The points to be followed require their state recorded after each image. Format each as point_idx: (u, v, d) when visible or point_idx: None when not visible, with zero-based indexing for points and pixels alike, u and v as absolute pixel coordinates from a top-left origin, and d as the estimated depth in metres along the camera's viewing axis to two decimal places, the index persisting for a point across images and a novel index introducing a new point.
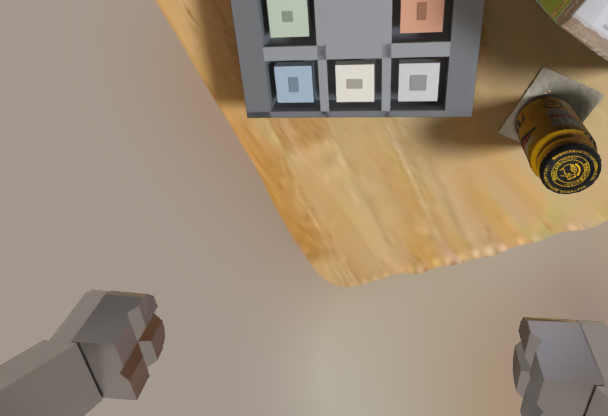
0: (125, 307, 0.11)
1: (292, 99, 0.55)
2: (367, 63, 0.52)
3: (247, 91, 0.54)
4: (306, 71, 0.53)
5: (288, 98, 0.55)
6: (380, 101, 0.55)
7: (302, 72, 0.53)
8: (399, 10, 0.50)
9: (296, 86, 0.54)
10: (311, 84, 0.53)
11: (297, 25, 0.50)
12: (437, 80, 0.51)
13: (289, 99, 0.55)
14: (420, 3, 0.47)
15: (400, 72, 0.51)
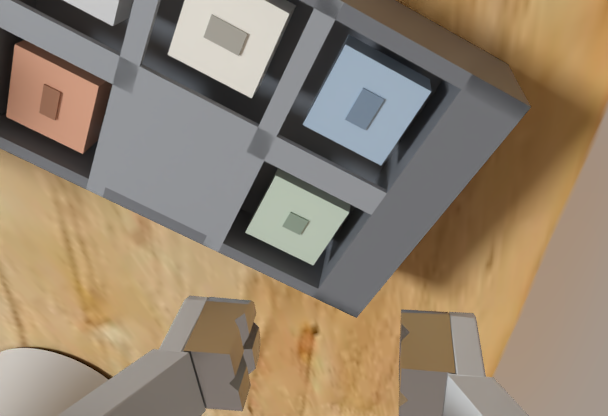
0: (231, 313, 0.10)
1: (390, 80, 0.21)
2: None
3: (473, 161, 0.21)
4: (319, 119, 0.22)
5: (398, 86, 0.21)
6: None
7: (329, 122, 0.22)
8: None
9: (360, 103, 0.21)
10: (325, 87, 0.21)
11: (287, 203, 0.25)
12: None
13: (399, 84, 0.21)
14: (52, 115, 0.24)
15: (114, 4, 0.21)
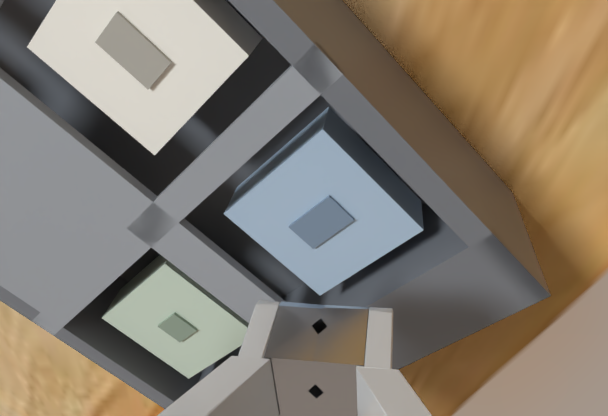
0: (307, 319, 0.10)
1: (372, 198, 0.13)
2: None
3: (447, 333, 0.15)
4: (250, 215, 0.14)
5: (380, 209, 0.14)
6: None
7: (263, 223, 0.14)
8: None
9: (318, 214, 0.14)
10: (272, 177, 0.14)
11: (172, 300, 0.17)
12: None
13: (382, 206, 0.14)
14: None
15: None
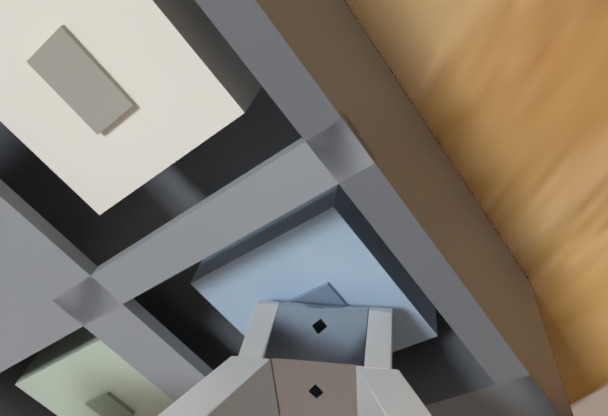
0: (307, 319, 0.10)
1: (381, 293, 0.11)
2: None
3: None
4: (224, 289, 0.11)
5: (389, 307, 0.11)
6: None
7: (239, 301, 0.11)
8: None
9: (310, 301, 0.11)
10: (259, 251, 0.11)
11: (106, 379, 0.13)
12: None
13: (392, 303, 0.11)
14: None
15: None
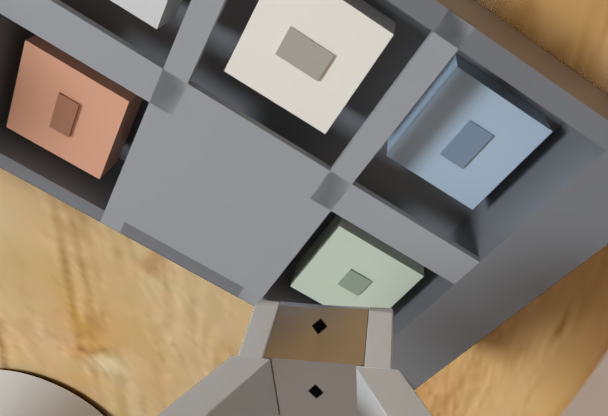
0: (307, 318, 0.10)
1: (505, 114, 0.17)
2: None
3: (600, 236, 0.17)
4: (408, 151, 0.18)
5: (513, 122, 0.17)
6: None
7: (419, 156, 0.18)
8: None
9: (463, 137, 0.18)
10: (422, 115, 0.18)
11: (348, 258, 0.20)
12: None
13: (514, 119, 0.17)
14: (66, 131, 0.19)
15: (161, 2, 0.16)
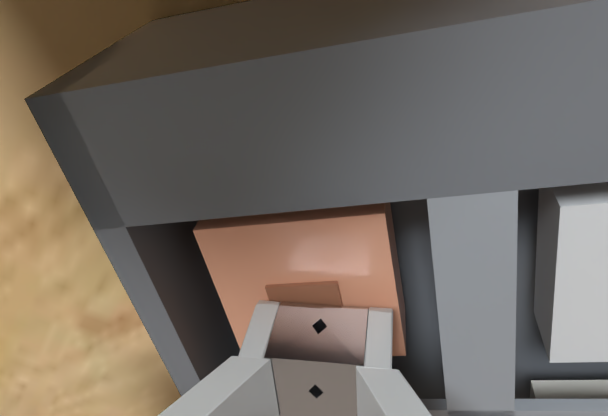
0: (307, 319, 0.10)
1: None
2: None
3: None
4: None
5: None
6: None
7: None
8: None
9: None
10: None
11: None
12: None
13: None
14: None
15: (596, 357, 0.10)
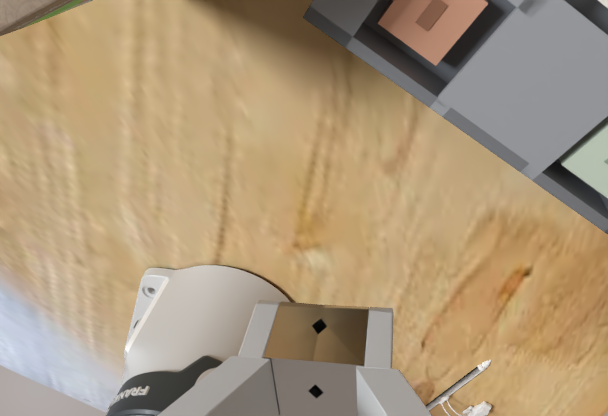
0: (307, 319, 0.10)
1: None
2: None
3: None
4: None
5: None
6: None
7: None
8: None
9: None
10: None
11: None
12: None
13: None
14: (426, 26, 0.27)
15: None
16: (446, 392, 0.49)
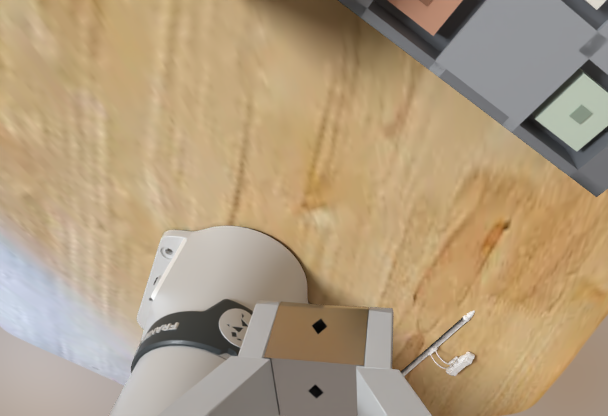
0: (307, 318, 0.10)
1: None
2: None
3: None
4: None
5: None
6: None
7: None
8: None
9: None
10: None
11: (581, 97, 0.33)
12: None
13: None
14: (426, 2, 0.33)
15: None
16: (435, 344, 0.54)
